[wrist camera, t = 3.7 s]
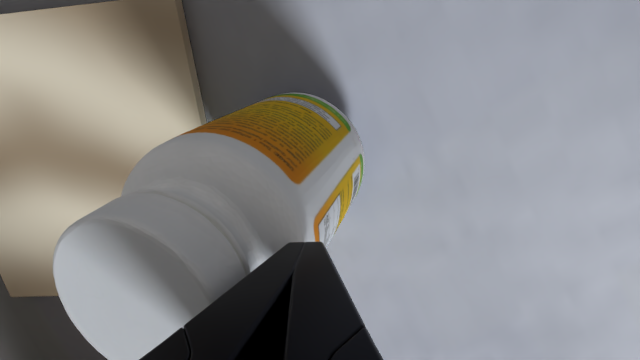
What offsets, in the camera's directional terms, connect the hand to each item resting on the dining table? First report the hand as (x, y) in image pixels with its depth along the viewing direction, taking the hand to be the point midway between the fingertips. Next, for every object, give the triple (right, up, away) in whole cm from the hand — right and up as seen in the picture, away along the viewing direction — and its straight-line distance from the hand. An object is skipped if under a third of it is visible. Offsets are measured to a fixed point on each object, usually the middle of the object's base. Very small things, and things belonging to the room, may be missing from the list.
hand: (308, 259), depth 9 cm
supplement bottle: (0, +3, +8) cm, 8 cm away
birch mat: (-10, +2, +9) cm, 14 cm away
